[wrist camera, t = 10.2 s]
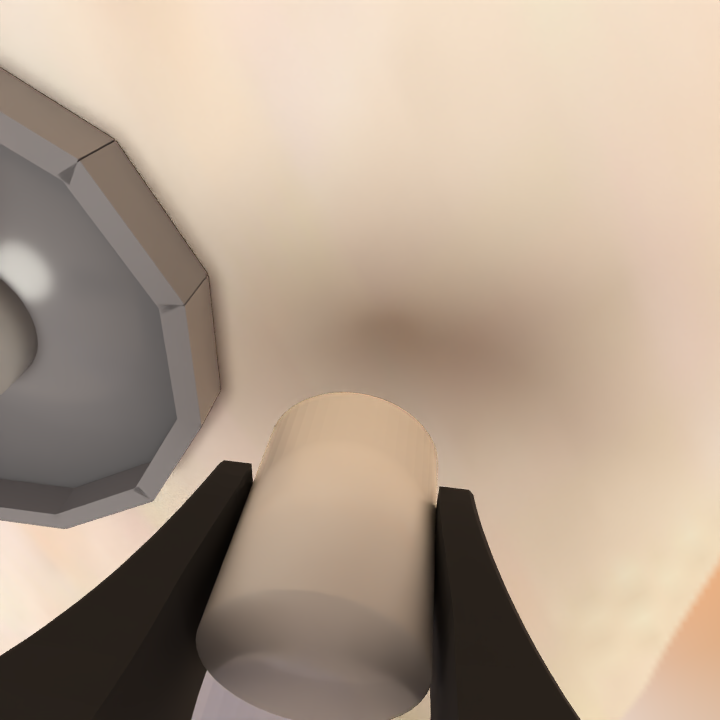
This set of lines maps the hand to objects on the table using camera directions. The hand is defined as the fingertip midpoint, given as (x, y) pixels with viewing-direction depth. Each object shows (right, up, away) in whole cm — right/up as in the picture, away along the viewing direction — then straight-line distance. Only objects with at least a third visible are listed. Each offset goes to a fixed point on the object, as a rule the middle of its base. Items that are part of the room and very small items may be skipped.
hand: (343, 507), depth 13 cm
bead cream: (0, +1, +1) cm, 2 cm away
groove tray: (-13, +5, +8) cm, 16 cm away
